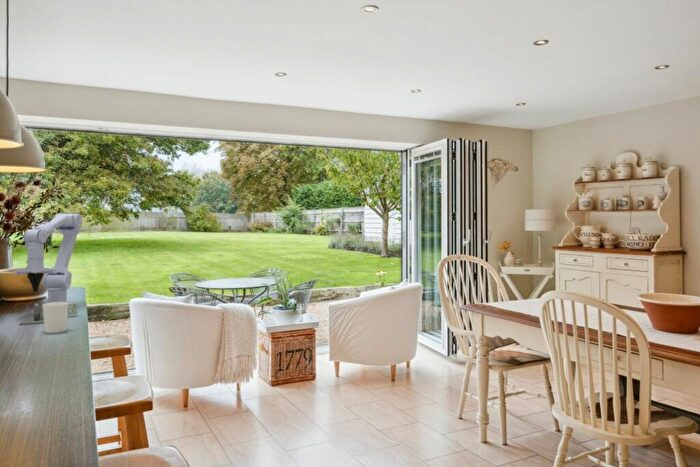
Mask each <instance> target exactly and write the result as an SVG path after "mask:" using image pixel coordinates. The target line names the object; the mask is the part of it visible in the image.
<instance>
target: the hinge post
mask: <svg viewBox="0 0 700 467" xmlns="http://www.w3.org/2000/svg"><path fill="white" fill-rule="evenodd" d="M40 307H41V305H40V303H33V313H34V321H39V320H40Z"/></svg>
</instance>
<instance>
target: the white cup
mask: <svg viewBox="0 0 700 467" xmlns="http://www.w3.org/2000/svg"><path fill="white" fill-rule="evenodd" d="M42 307H43V317H44V324H43V325H44V333H45V334H58V333H63V332H66V331H67V324H68V316H69V315H68V312H69V311H68V310H69V309H68V301H67V302H53V303H48V302H45V303H43V304H42ZM67 315H68V316H67Z"/></svg>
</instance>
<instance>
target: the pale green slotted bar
mask: <svg viewBox="0 0 700 467" xmlns="http://www.w3.org/2000/svg"><path fill="white" fill-rule="evenodd" d="M67 303H68V302H67ZM68 310H71V311H68V315H67V317H68V316H75V315H78V302H70V303H68ZM40 319H44V317H43V306H40Z"/></svg>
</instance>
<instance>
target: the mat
mask: <svg viewBox="0 0 700 467" xmlns="http://www.w3.org/2000/svg"><path fill="white" fill-rule="evenodd" d="M40 324H42V325H44V319H40V320H39V321H34V312H31V313H29V314H28V315H27V316H26V317H25V318H24V319H23V320H21V322H20V323H19V324H18V325H19V326H26V325H40Z"/></svg>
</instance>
